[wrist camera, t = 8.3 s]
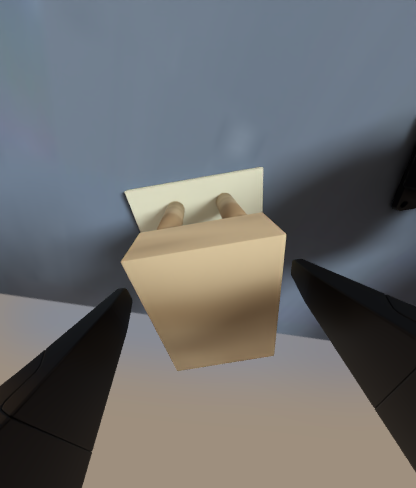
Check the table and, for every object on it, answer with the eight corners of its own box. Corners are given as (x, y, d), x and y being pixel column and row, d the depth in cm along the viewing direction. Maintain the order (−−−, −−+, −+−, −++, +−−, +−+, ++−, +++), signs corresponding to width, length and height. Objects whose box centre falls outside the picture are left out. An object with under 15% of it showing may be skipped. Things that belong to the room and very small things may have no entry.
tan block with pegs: (240, 269, 14) (274, 355, 8) (184, 278, 14) (177, 371, 8) (235, 187, 11) (286, 234, 5) (161, 200, 11) (120, 262, 5)
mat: (260, 167, 11) (263, 167, 10) (259, 271, 15) (261, 274, 15) (127, 190, 11) (124, 191, 11) (165, 287, 15) (164, 291, 15)
